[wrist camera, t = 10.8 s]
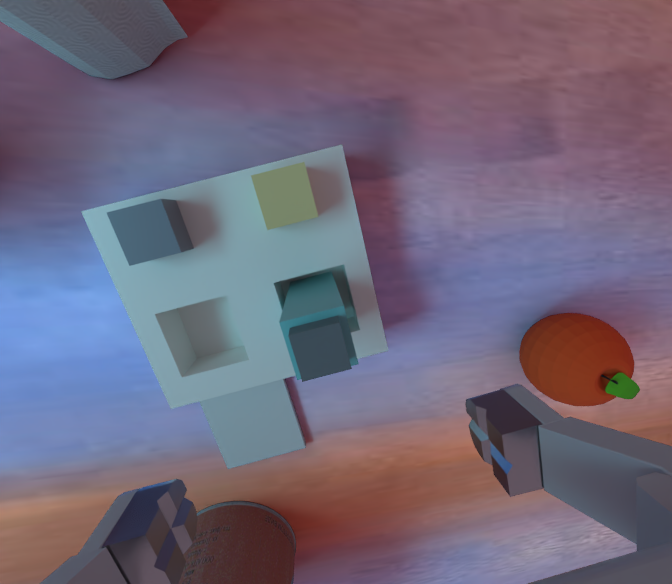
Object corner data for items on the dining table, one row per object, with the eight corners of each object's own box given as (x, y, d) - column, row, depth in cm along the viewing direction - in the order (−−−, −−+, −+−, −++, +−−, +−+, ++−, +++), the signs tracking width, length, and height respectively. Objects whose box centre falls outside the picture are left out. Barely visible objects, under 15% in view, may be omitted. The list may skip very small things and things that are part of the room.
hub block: (378, 332, 26) (395, 363, 20) (189, 382, 26) (157, 427, 20) (337, 154, 22) (345, 136, 17) (116, 211, 22) (54, 211, 17)
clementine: (601, 327, 27) (699, 366, 21) (555, 391, 29) (632, 448, 22) (531, 288, 26) (611, 316, 19) (486, 357, 27) (545, 406, 20)
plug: (341, 309, 25) (361, 373, 15) (301, 320, 24) (296, 391, 15) (331, 271, 24) (346, 312, 14) (290, 281, 24) (277, 330, 14)
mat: (305, 442, 28) (305, 447, 27) (229, 463, 28) (227, 468, 27) (283, 375, 26) (282, 378, 25) (201, 396, 26) (199, 401, 25)
